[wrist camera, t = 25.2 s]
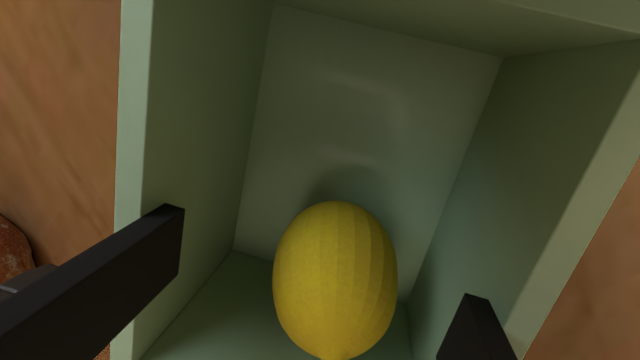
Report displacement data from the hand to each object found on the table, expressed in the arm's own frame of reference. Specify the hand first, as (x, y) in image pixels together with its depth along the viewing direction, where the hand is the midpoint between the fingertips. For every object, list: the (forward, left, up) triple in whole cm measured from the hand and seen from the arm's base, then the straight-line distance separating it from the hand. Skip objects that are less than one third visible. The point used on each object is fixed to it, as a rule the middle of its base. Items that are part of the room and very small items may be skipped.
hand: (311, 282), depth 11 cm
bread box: (0, +2, -9) cm, 9 cm away
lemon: (0, 0, -7) cm, 7 cm away
